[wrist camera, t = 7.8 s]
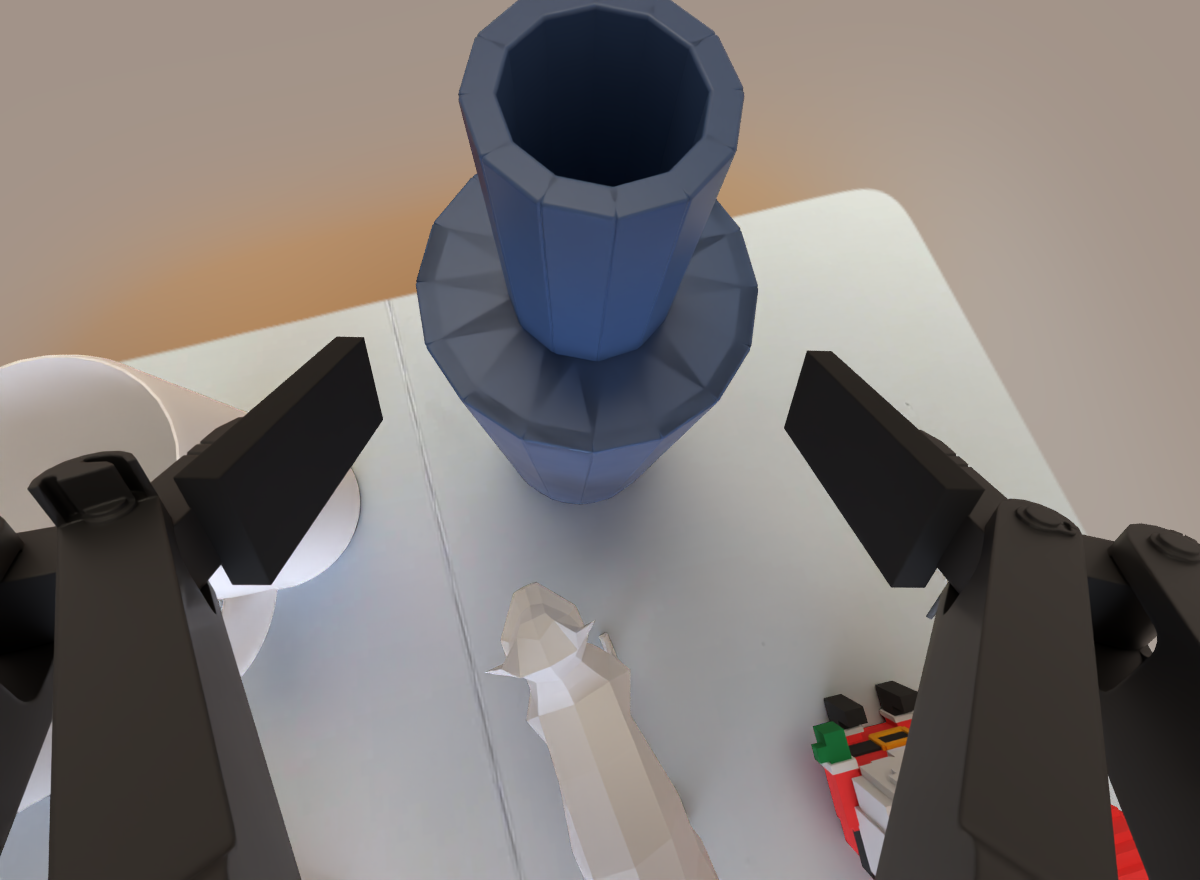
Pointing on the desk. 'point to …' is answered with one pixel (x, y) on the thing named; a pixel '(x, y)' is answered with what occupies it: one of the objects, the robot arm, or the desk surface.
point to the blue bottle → (591, 241)
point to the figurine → (895, 774)
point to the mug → (142, 462)
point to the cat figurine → (597, 747)
